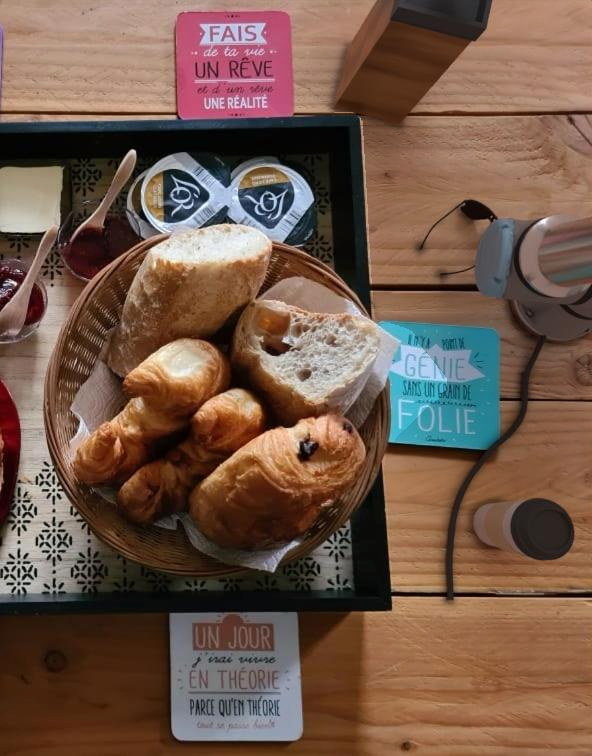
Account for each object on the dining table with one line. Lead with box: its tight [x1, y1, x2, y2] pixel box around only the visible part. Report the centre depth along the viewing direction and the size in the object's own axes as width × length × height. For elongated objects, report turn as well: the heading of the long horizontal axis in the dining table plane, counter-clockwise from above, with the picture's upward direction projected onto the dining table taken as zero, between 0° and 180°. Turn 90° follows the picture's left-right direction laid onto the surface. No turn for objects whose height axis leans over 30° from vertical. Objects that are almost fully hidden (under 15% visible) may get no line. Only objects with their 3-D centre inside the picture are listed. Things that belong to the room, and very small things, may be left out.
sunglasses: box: [419, 199, 499, 276], centre depth 125 cm, size 10×12×5 cm
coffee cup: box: [472, 497, 575, 562], centre depth 112 cm, size 9×9×15 cm
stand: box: [333, 0, 473, 125], centre depth 118 cm, size 12×12×25 cm
